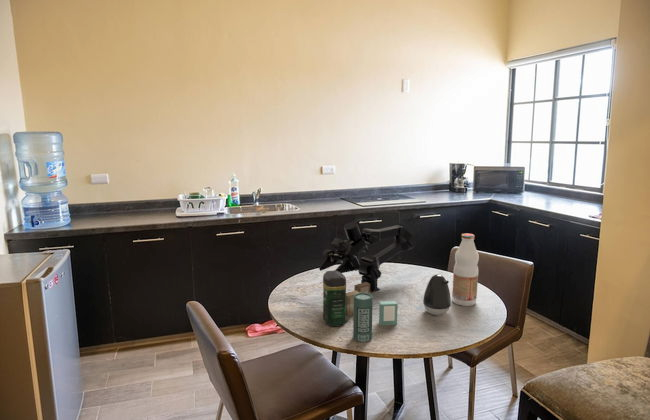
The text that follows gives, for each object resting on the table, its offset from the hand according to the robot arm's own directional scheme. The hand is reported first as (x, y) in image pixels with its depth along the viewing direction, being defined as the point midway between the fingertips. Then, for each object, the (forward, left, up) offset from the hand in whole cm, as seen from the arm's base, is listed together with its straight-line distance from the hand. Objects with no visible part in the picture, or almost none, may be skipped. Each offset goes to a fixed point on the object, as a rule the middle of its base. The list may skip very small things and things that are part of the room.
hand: (326, 271), depth 176 cm
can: (+6, +31, -14) cm, 34 cm away
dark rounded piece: (-30, +31, -14) cm, 45 cm away
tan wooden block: (-3, +13, -13) cm, 19 cm away
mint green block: (-8, +27, -13) cm, 32 cm away
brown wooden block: (-12, +8, -13) cm, 20 cm away
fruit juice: (-47, +30, -14) cm, 57 cm away
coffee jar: (+7, +15, -14) cm, 21 cm away
